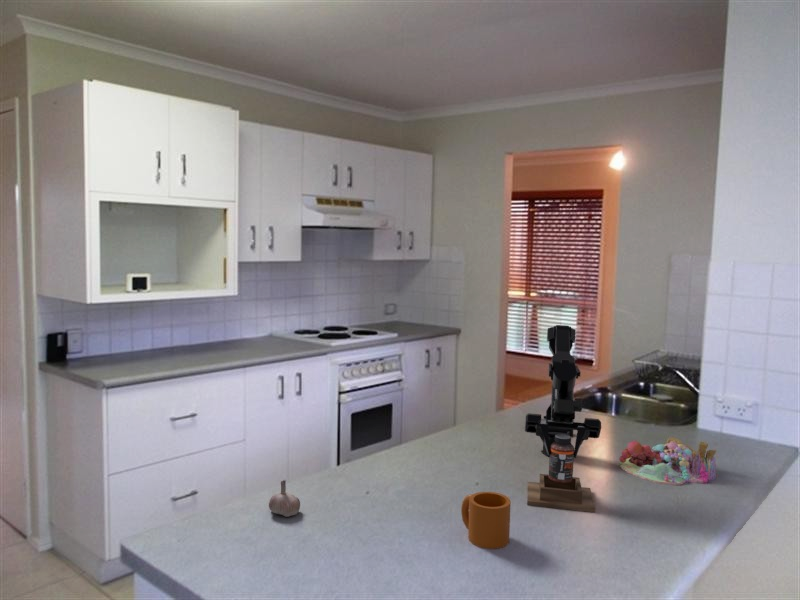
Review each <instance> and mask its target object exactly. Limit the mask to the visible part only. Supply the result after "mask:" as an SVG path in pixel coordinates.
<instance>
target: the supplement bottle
mask: <svg viewBox="0 0 800 600" xmlns="http://www.w3.org/2000/svg"><path fill="white" fill-rule="evenodd" d="M554 440H555V442H553V443H552V444H551V446H550V457H549V461H548V463H549V464H548V475H549V479H550V480H552V481H554V482H558V483H569V482H571V481H572V477H574V476H573V474H574V461H575V458H574V450H575V445H573V444H572V437H571V436H569V435H565V434H556V435H555V439H554Z"/></svg>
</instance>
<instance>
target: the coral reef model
mask: <svg viewBox="0 0 800 600" xmlns="http://www.w3.org/2000/svg"><path fill="white" fill-rule="evenodd" d="M708 446H709V443H708V442H705V441H700V442H699V443H698V451H697V450H694V449H692V448H691V446H690V445H688V444H685V443H684V442H682V441H681V440H680V439H678V438H675V437H674V436H673V437H671V436H670V437H668V439H667V440H666V443H660V444H659V443H658V444H657V445H654V446H652V447H650V445H648V444H643V445H642V444H641V443H640V442H638V441H637V440H632V441H631V442H629V443H628V444H627V447H626V448H625V449H623V450H622V451H621V456H619V458H618V459H619V465H620V466H619V467H620V468H621V469H622V470H623V471H626V473H628V474H631V475H634V476H635V477H637V478H640V479H643V480H646V481H651V482H653V483H656V484H657V483H659V484H664V485H671V486H679V485H683V484H684V483H693V484H696V483H699V484H706V483H708V482H709V481H713V480H715V478H716V476H717V475H716V474H717V473H716V460H717V459H716V456H715V455H716V453H717V450H716V449H710V450H709V449H708V450H707V448H708ZM706 450H707V451H706Z"/></svg>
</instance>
